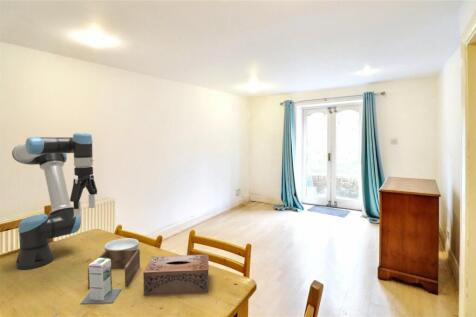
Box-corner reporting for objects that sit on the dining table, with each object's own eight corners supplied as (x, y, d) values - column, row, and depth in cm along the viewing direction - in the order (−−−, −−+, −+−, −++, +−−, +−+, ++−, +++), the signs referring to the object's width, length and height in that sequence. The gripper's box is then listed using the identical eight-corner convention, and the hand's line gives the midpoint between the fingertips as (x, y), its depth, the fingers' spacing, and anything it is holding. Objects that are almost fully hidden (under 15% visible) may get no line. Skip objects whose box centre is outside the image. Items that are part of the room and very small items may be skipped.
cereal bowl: (145, 254, 144) (145, 241, 144) (117, 266, 130) (117, 252, 130) (126, 247, 153) (126, 235, 153) (98, 258, 139) (97, 245, 139)
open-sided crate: (88, 288, 111) (87, 268, 110) (106, 267, 129) (105, 250, 128) (127, 287, 112) (127, 267, 111) (139, 267, 130) (139, 249, 129)
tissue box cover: (208, 275, 123) (208, 254, 122) (207, 293, 109) (207, 269, 108) (151, 277, 121) (151, 256, 120) (143, 296, 106) (143, 272, 106)
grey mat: (80, 304, 100) (80, 303, 100) (91, 290, 109) (91, 289, 109) (112, 303, 101) (112, 302, 101) (121, 289, 110) (121, 288, 110)
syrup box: (103, 301, 102) (102, 264, 101) (89, 299, 103) (88, 263, 102) (112, 292, 108) (111, 258, 106) (99, 291, 108) (98, 257, 107)
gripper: (77, 169, 110) (79, 219, 112) (103, 164, 135) (104, 204, 137) (59, 169, 110) (61, 219, 111) (88, 164, 134) (89, 204, 136)
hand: (85, 211), depth 124 cm, fingers open, 13 cm apart
